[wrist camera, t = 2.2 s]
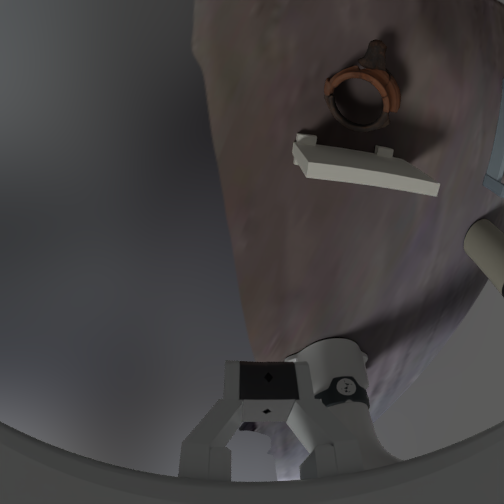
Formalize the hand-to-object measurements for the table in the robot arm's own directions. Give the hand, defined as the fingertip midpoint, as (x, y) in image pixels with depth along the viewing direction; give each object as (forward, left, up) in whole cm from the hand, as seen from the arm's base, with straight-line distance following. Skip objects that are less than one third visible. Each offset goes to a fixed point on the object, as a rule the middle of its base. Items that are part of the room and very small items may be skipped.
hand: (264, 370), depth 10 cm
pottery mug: (+11, -13, -31) cm, 36 cm away
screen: (+1, -13, -31) cm, 34 cm away
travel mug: (-9, -43, -31) cm, 54 cm away
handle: (+11, -40, -31) cm, 52 cm away
